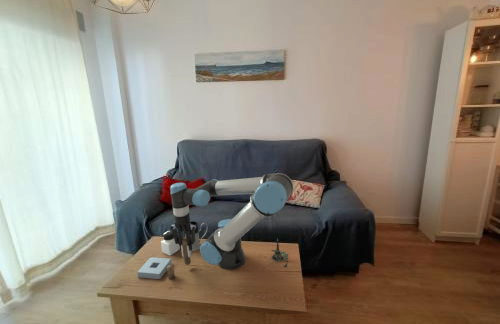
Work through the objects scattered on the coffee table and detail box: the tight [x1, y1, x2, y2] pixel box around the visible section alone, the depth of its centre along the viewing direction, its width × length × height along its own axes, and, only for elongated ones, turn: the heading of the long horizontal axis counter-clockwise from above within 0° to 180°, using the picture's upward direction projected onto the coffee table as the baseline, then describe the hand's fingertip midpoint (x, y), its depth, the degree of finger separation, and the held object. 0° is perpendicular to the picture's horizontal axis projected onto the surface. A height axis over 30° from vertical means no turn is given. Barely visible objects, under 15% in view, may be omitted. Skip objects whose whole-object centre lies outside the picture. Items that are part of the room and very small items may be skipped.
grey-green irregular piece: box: [270, 238, 289, 269], centre depth 128 cm, size 15×10×13 cm
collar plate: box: [136, 257, 173, 280], centre depth 124 cm, size 12×12×3 cm
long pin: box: [182, 236, 192, 266], centre depth 123 cm, size 3×3×14 cm
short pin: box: [166, 264, 175, 280], centre depth 118 cm, size 3×3×6 cm
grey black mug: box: [184, 220, 209, 252], centre depth 143 cm, size 9×14×15 cm, turn 118°
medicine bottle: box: [160, 230, 180, 256], centre depth 139 cm, size 7×7×12 cm
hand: (187, 255), depth 123 cm, fingers closed on long pin, 2 cm apart
